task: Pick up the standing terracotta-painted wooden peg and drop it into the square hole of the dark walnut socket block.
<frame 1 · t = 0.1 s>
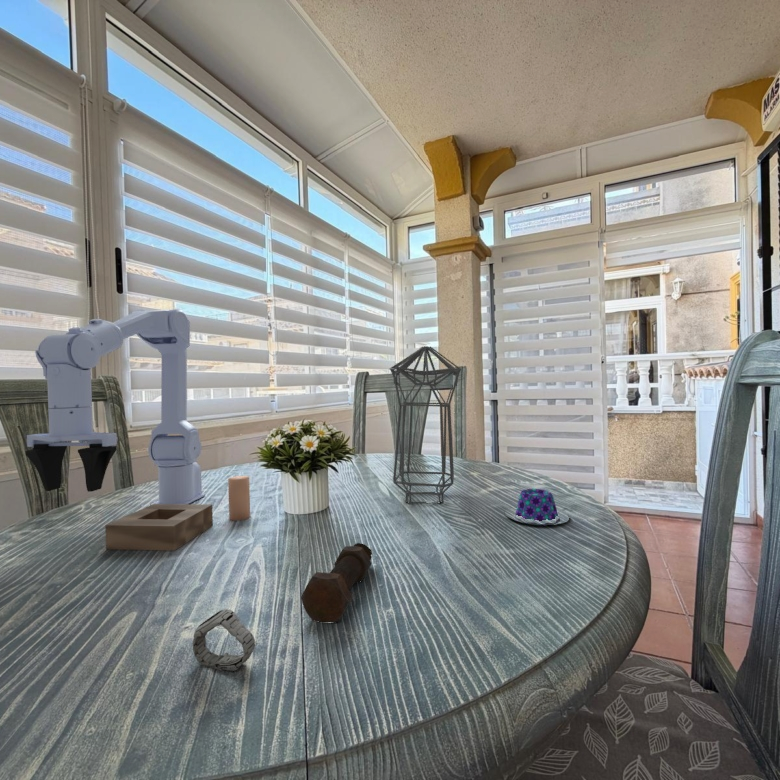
hand: (73, 489, 68), 10 cm above the table, fingers open, 7 cm apart
peg: (239, 517, 84), on the table
geometric lantern: (428, 498, 95), on the table
pudding: (536, 520, 80), on the table
bolt: (346, 592, 54), on the table
wristwatch: (223, 667, 40), on the table
socket block: (163, 536, 74), on the table
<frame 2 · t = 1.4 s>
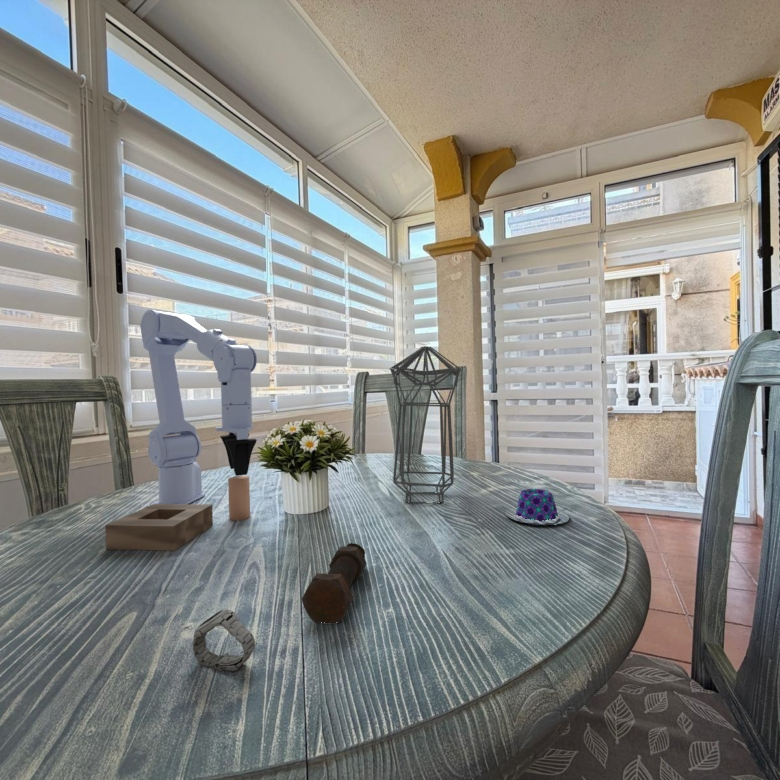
hand: (238, 471, 84), 9 cm above the table, fingers open, 7 cm apart
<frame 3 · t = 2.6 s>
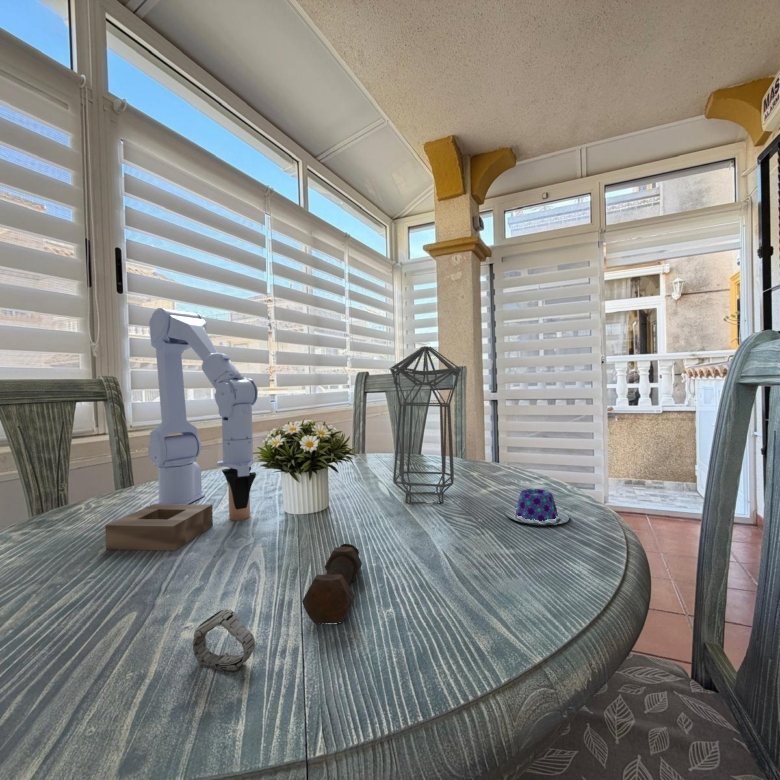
hand: (239, 505, 84), 2 cm above the table, fingers closed on peg, 4 cm apart
peg: (239, 517, 84), on the table, touching gripper
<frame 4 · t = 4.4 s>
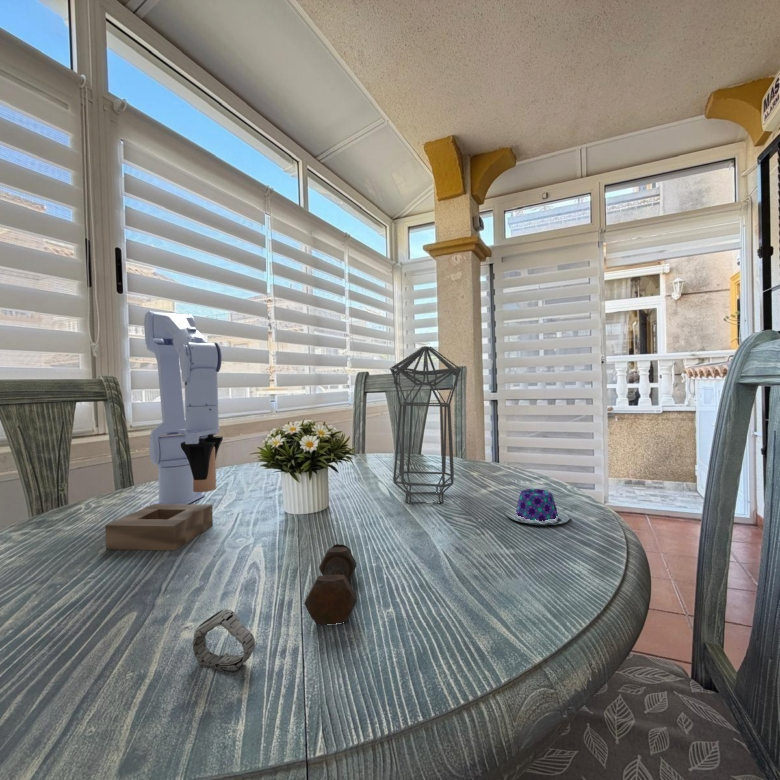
hand: (203, 476, 79), 9 cm above the table, fingers closed on peg, 4 cm apart
peg: (204, 489, 79), point 7 cm above the table, touching gripper
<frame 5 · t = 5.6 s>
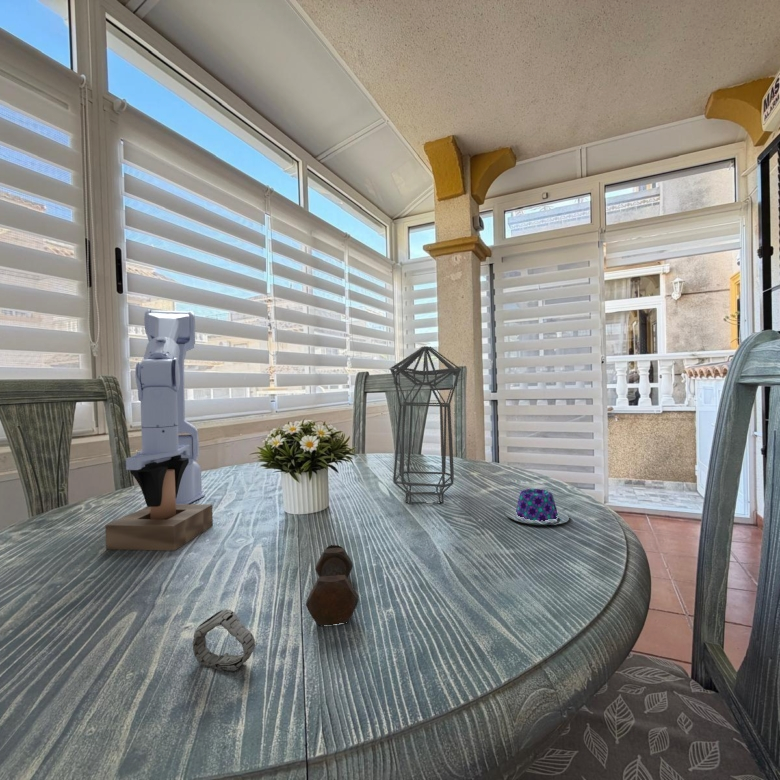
hand: (162, 502, 74), 6 cm above the table, fingers closed on peg, 4 cm apart
peg: (163, 515, 74), point 4 cm above the table, touching gripper
when the fingers open (5 cm above the table, at t = 6.2 s): peg drops 3 cm, resting in socket block.
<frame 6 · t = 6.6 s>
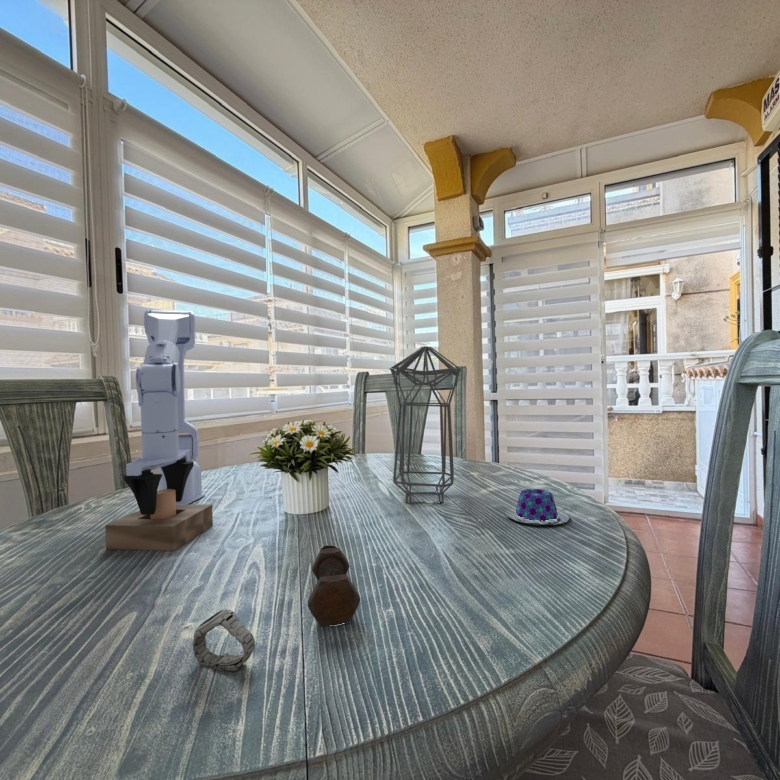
hand: (162, 507, 74), 5 cm above the table, fingers open, 7 cm apart
peg: (164, 536, 74), resting in socket block
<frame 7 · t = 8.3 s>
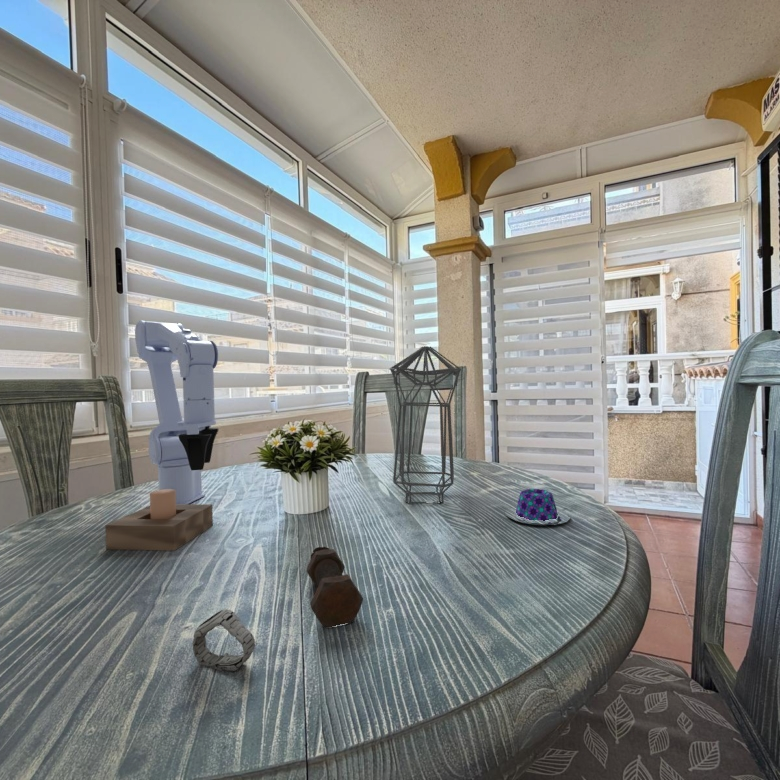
hand: (200, 466, 85), 10 cm above the table, fingers open, 7 cm apart
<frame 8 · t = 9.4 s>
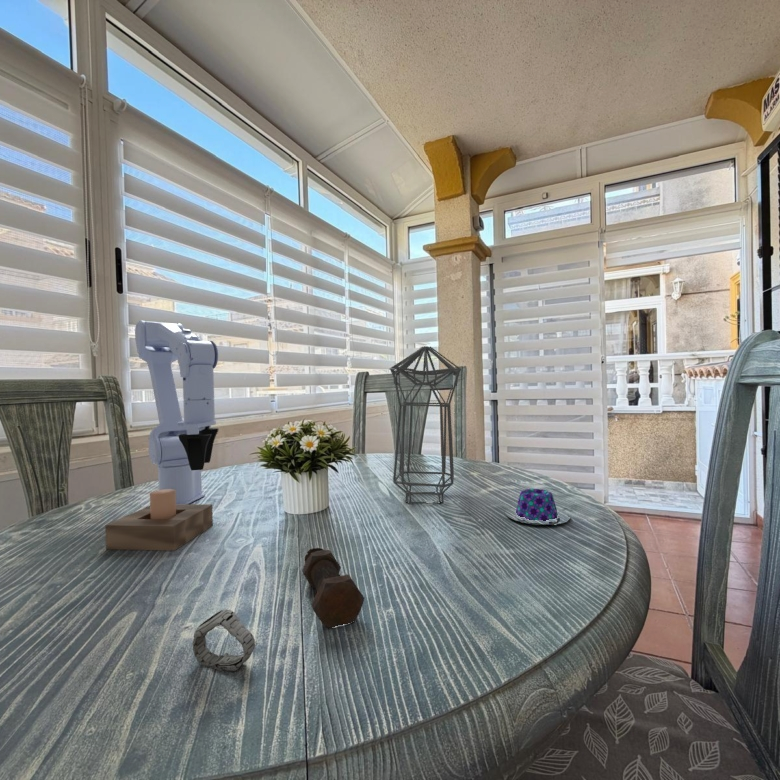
hand: (200, 466, 85), 10 cm above the table, fingers open, 7 cm apart
at the end: peg 0.2 cm from the socket block (horizontally); peg resting in socket block; peg tilted 0° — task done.
